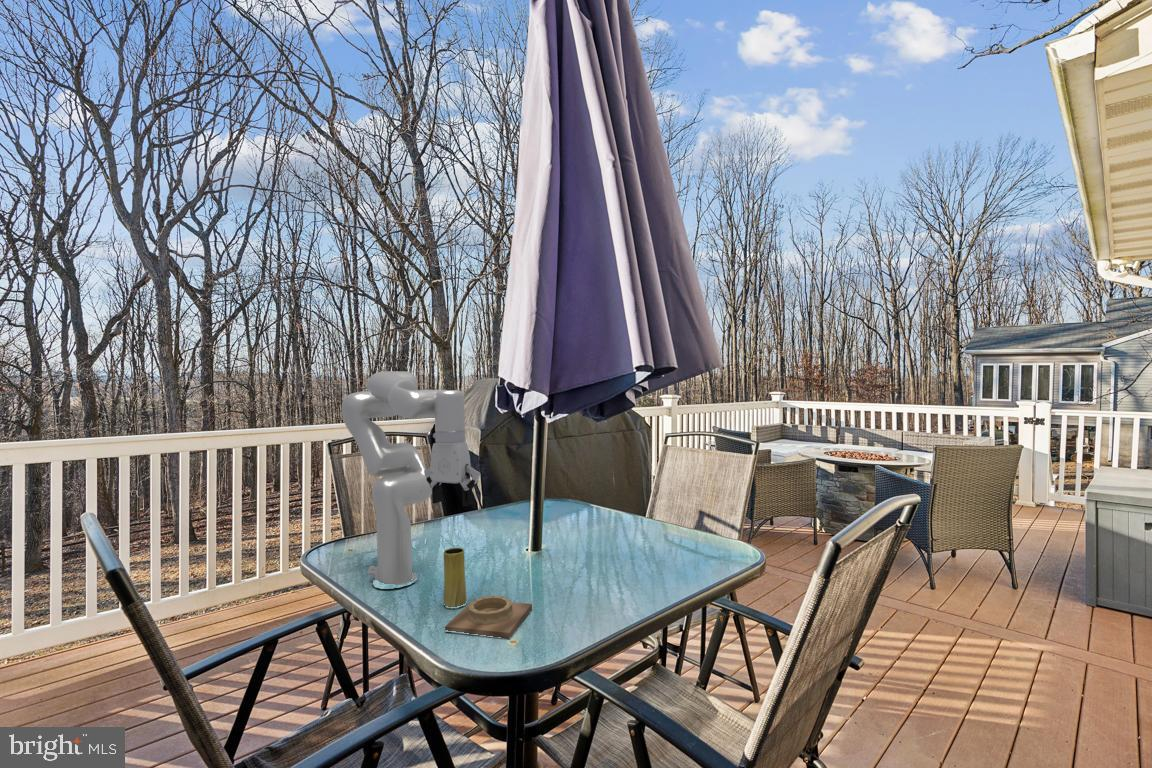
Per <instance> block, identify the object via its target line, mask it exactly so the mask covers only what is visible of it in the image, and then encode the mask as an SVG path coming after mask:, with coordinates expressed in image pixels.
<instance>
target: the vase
mask: <svg viewBox="0 0 1152 768" xmlns="http://www.w3.org/2000/svg"><path fill="white" fill-rule="evenodd" d="M465 564H466V563H465V549H464V548H461V547H452V548H447V549H445V550H444V551H443V573H444V574H443V575H444V576H443V579H444V580H443V581H444V582H443V605H444V604H445V606H448V607H457V606H461V605H463V604H465V603H466V601H467V602H468V600H467V587H466V586H467V585H466V571H465V570H466V568H465V567H466V565H465Z"/></svg>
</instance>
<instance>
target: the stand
mask: <svg viewBox="0 0 1152 768" xmlns="http://www.w3.org/2000/svg"><path fill="white" fill-rule="evenodd" d="M531 610H533V603H525V602H514V601H513V602H512V600H511V599H510V598H508V597H505V596H501V595H488V596H481V597H479V598H473V600H471V601H470V602H469V603H467V604H466V606H464V608H462V610H461V611H460V612H458V614H456V615H455V616H454V617H453V618H452V619H451V620H450V621H449V622H448V623H447V624H446V625H445V626H444V631H445V630H448V631H456V632H464V633H469V634H478V635H486V636H493V637H501V638H508V639H507V640H510V639H511V638H512V636H513V635H514V634H515V633H516V631H517V630H518V629H519V627H520V626H521V625H522V624H521V623H523V622H524V621H525V620H526V619H527V617H528V616H529V615H530V613H531V612H532V611H531ZM530 611H531V612H530ZM529 612H530V613H529ZM527 615H528V616H527ZM526 616H527V617H526ZM524 619H525V620H524ZM523 620H524V621H523ZM520 624H521V625H520ZM517 628H518V629H517ZM514 632H515V633H514ZM513 633H514V634H513ZM512 634H513V635H512ZM511 635H512V636H511ZM510 637H511V638H510ZM509 638H510V639H509Z"/></svg>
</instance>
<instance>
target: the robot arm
mask: <svg viewBox="0 0 1152 768" xmlns="http://www.w3.org/2000/svg"><path fill="white" fill-rule="evenodd" d="M366 386H367V391H366V390H365V391H364V390H363V391H357V392H352V393H350V394H348V395H346V396H345V397H344V398H343V401H342V402H341V403H342V404H341V416H342V419H343V422H344V425H345V426H346V429H347V430H348V432H349V433H350V434H351V436H352V437H353V439H354V440H355V443H356V444H357V446H358V449H359V452H360V454H361V456H362V457H361V458H362V459H363V461H364V464H365V467H366V468H367V471H368V472H369V474H370V475H371V476H373V477H378V478H379V477H381V478H379V479H377V480H376V481H375V482H374V484H373V485H372V489H371V492H372V493H371V495H372V499H373V504H374V509H375V510H374V511H375V520H376V521H375V522H376V544H377V545H376V547H377V548H376V549H377V553H376V554H377V566H376V565H370V566H369V567H368V570H367V572H366V574H367V575H369V576H374V579H375V580H378V581H379V582H381V583H384V584H395V585H403V584H407V583H409V582H412V581H414V580H415V579H416V578H417V579H418V574H417V573H416V572H414V571H412V570H413V565H412V564H413V562H412V558H413V557H412V527H411V526H412V525H411V524H412V523H411V519H410V516H409V515H408V514H407V512H406V511H405V510H404V507H405V506H406V507H407V506H409V505H414V504H418V503H423V502H426V501H427V500H429V499H430V498H431V497H432V498H431V500H432V501H431V502H432V504H434V505H435V504H438V503H442V502H443V487H442V486H441V484H442V483H443V484H444V483H445V484H459V483H460V485H461V487H462V488H463V490H462V493H461V494H462V496H461V497H462V506H463V507H468V506H470V505H472V504H473V489H475V487H476V485H477V484H478V482H479V479H480V476H481V472H480V471H478V470H476V469H475V468H474V467H472V466H471V465H472V464H471V457H470V450H469V445H468V442H466V424H465V423H466V420H465V419H466V418H465V396H464V395H465V394H464V393H463V392H462V391H461V390H459V389H454V390H453V389H452V390H451V389H450V390H448V389H447V390H446V389H418V387H419V383H418V380H417V378H416V376H415V375H414V374H413V373H411V372H409V371H403V370H402V371H398V370H397V371H389V370H388V371H379V372H378V371H377V372H375V373H374V374H372V375H371V376H370V377H369V378H368V380H367V383H366ZM395 416H398V417H400V418H404V419H407V420H420V419H434V425H435V426H434V431H435V432H434V433H433V434H432V438H433V439H434V441H435V442H433V444H432V448H431V453H430V466H429V467H426V465H425V464H424V461H423V459H422V457H421V454H420V452H419V451H418V449H417V447H416V446H414V445H413V444H412V443H409V442H399V443H398V442H397V443H391V442H390V441H389V440H388V438H387V436H386V433H385V431H384V430H383V429H382V428H381V427H380V426H379V425H378V424H376V423H375V422H373V421H372V420H370V419H377V418H379V419H380V418H381V419H382V418H390V417H391V418H392V417H395ZM412 572H413V574H412ZM411 579H413V580H411Z"/></svg>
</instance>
